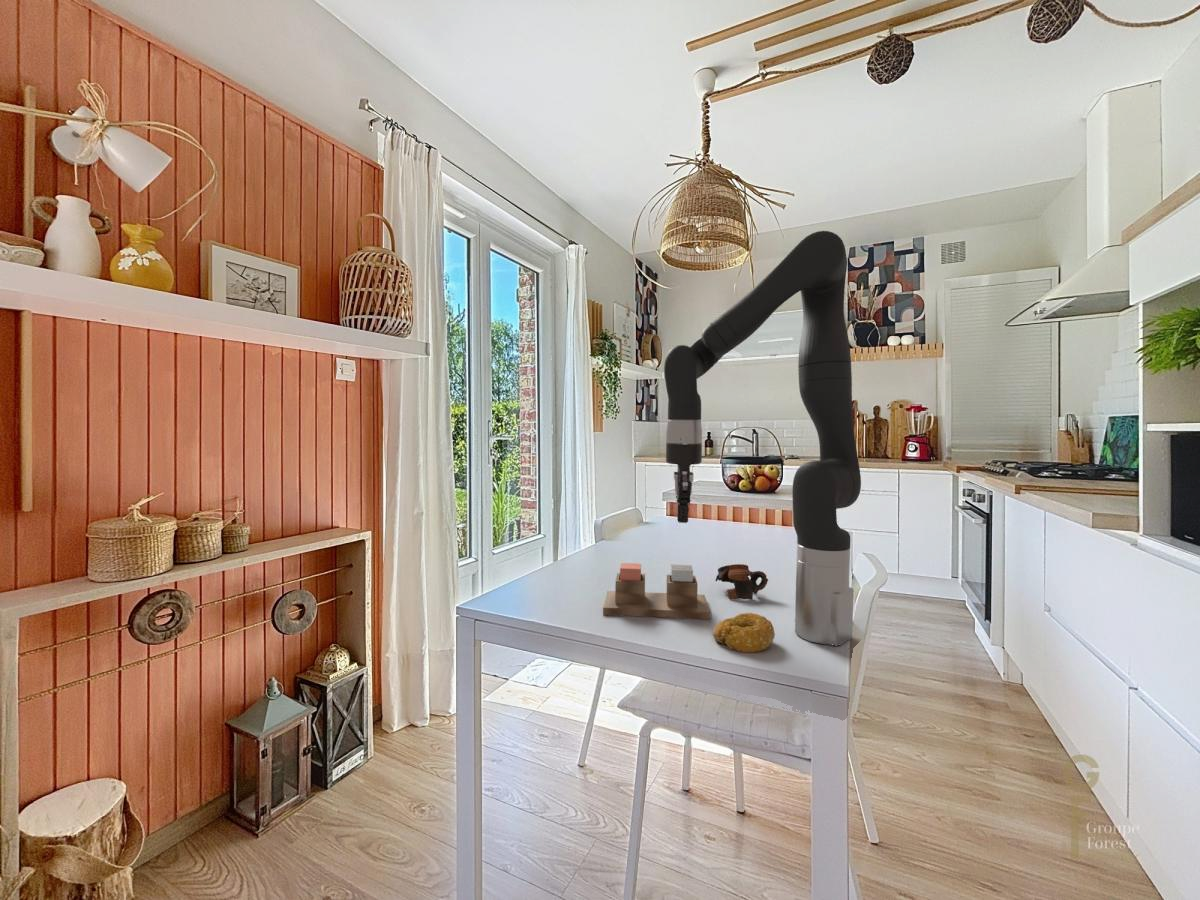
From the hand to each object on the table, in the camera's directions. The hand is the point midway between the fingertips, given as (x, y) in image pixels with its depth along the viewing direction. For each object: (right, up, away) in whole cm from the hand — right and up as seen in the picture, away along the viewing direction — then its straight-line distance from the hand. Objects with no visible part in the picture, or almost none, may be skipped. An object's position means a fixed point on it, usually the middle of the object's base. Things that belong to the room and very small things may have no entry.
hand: (682, 521), depth 112 cm
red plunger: (-11, -15, +2) cm, 19 cm away
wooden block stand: (-6, -19, +1) cm, 20 cm away
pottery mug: (+16, -19, +11) cm, 27 cm away
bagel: (+9, -20, -16) cm, 27 cm away
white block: (0, -15, +1) cm, 15 cm away
